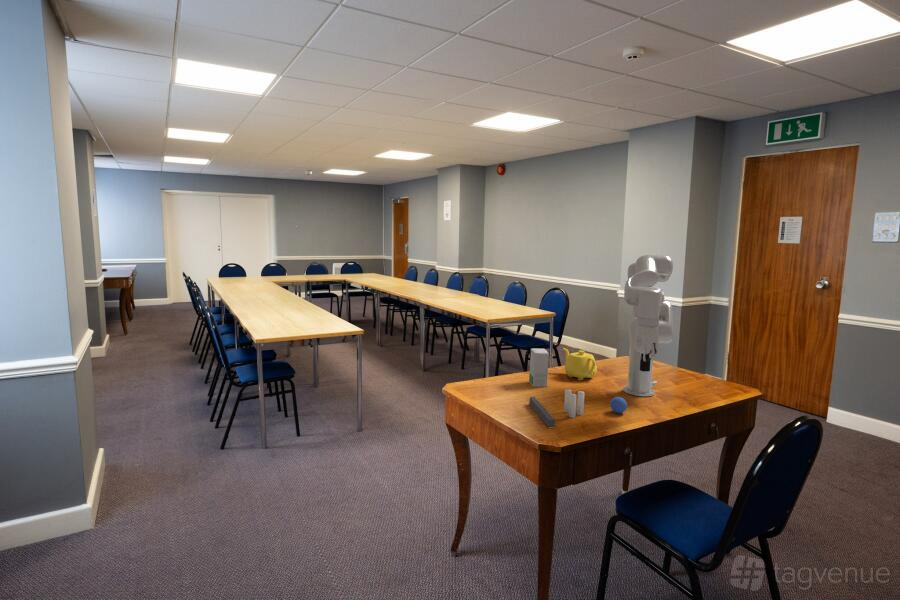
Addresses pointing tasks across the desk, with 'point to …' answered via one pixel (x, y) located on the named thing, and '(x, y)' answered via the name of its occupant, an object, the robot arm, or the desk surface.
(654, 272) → the robot arm
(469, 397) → the desk surface
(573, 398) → the back left pin
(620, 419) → the desk surface
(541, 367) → the skincare box
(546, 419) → the bar
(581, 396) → the front pin
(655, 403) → the desk surface
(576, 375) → the teapot
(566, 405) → the back right pin
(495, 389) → the desk surface
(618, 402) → the ball
